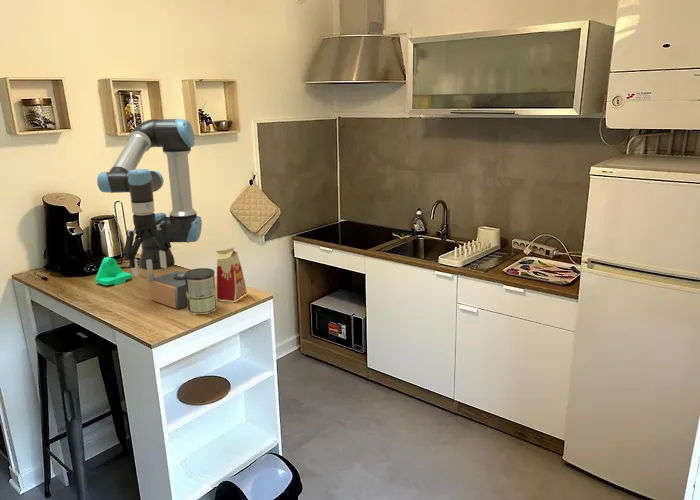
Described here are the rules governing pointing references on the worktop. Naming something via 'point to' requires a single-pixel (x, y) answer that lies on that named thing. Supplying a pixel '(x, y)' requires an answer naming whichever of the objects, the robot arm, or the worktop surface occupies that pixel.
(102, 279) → the camera mount
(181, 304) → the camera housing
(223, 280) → the red snack bag
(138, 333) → the worktop surface
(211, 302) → the coffee can
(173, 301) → the side door
